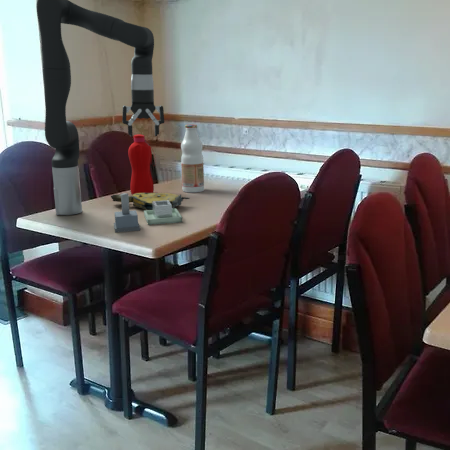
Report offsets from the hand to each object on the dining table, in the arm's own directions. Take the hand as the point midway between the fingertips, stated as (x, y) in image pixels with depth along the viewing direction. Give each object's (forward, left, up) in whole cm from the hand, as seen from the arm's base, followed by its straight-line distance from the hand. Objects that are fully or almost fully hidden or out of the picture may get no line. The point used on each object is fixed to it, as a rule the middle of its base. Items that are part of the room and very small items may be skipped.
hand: (143, 136), depth 199 cm
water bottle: (+2, +36, -28) cm, 46 cm away
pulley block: (+1, +12, -28) cm, 30 cm away
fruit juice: (+23, +37, -28) cm, 52 cm away
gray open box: (+4, -8, -27) cm, 29 cm away
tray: (+4, -8, -28) cm, 29 cm away
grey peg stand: (-9, -17, -28) cm, 34 cm away
